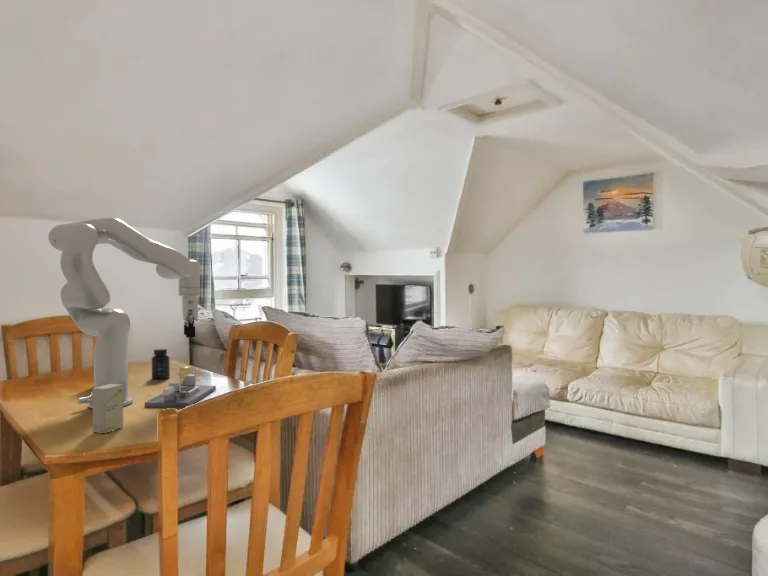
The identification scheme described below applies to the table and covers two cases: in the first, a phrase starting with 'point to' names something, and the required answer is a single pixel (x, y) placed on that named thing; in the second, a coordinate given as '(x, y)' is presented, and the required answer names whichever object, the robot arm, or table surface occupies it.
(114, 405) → the skincare box
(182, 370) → the universal joint block
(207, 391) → the shaft bench
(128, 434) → the table surface
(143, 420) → the table surface
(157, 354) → the supplement bottle
